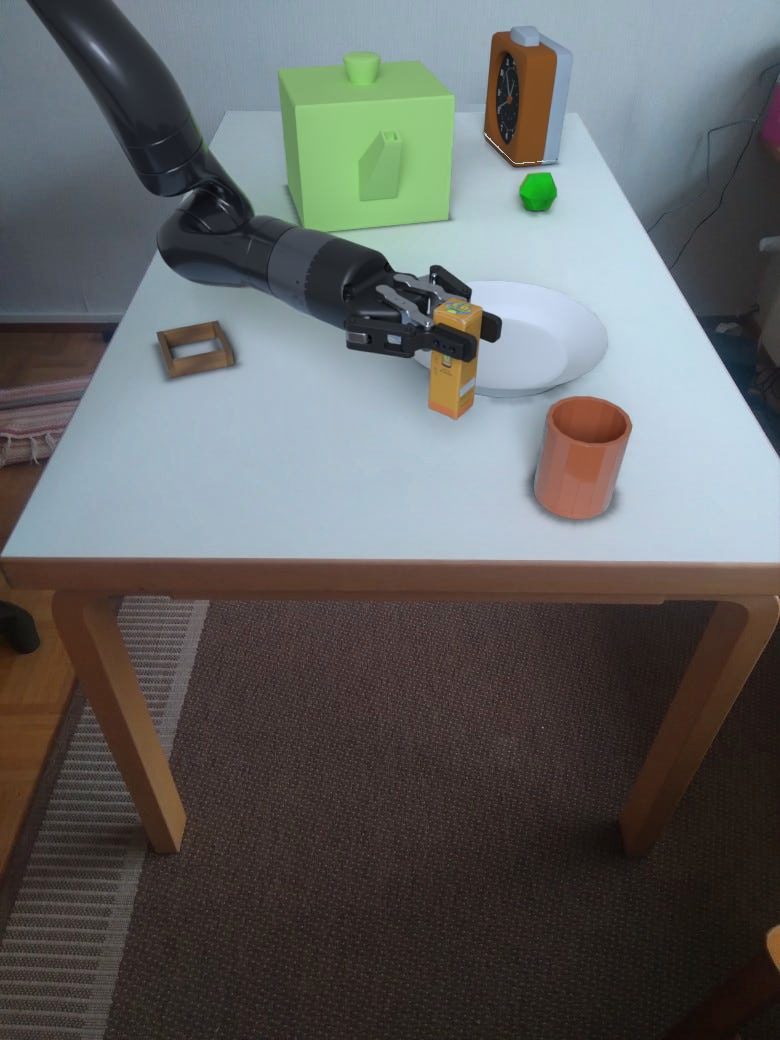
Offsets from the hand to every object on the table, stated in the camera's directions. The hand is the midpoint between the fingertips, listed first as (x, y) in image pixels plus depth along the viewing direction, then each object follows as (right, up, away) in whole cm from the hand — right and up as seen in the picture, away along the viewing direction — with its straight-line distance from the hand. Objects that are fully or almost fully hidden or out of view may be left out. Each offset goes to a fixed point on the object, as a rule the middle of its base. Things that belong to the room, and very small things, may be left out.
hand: (486, 340), depth 60 cm
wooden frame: (-32, +6, +30) cm, 45 cm away
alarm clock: (+17, +57, +82) cm, 101 cm away
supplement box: (-2, -5, +7) cm, 9 cm away
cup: (+10, -12, +13) cm, 20 cm away
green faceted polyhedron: (+16, +38, +63) cm, 76 cm away
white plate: (+6, +5, +31) cm, 32 cm away
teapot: (-12, +39, +64) cm, 75 cm away
